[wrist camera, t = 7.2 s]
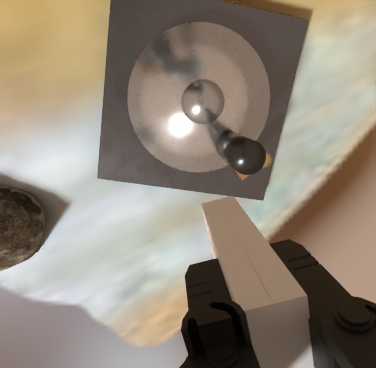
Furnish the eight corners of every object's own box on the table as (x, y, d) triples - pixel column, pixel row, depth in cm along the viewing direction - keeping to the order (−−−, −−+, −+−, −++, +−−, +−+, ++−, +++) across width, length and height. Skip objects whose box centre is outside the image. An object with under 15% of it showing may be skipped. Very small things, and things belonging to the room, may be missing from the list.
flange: (99, 86, 30) (71, 77, 21) (216, -8, 28) (239, -60, 19) (195, 208, 34) (204, 242, 26) (299, 135, 33) (347, 145, 24)
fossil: (51, 183, 35) (20, 251, 27) (64, 226, 41) (43, 290, 34) (-41, 179, 33) (-99, 249, 26) (-12, 224, 39) (-52, 290, 32)
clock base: (115, -16, 29) (101, -52, 23) (300, 25, 32) (335, 3, 25) (101, 174, 35) (85, 190, 28) (258, 195, 38) (278, 214, 31)
